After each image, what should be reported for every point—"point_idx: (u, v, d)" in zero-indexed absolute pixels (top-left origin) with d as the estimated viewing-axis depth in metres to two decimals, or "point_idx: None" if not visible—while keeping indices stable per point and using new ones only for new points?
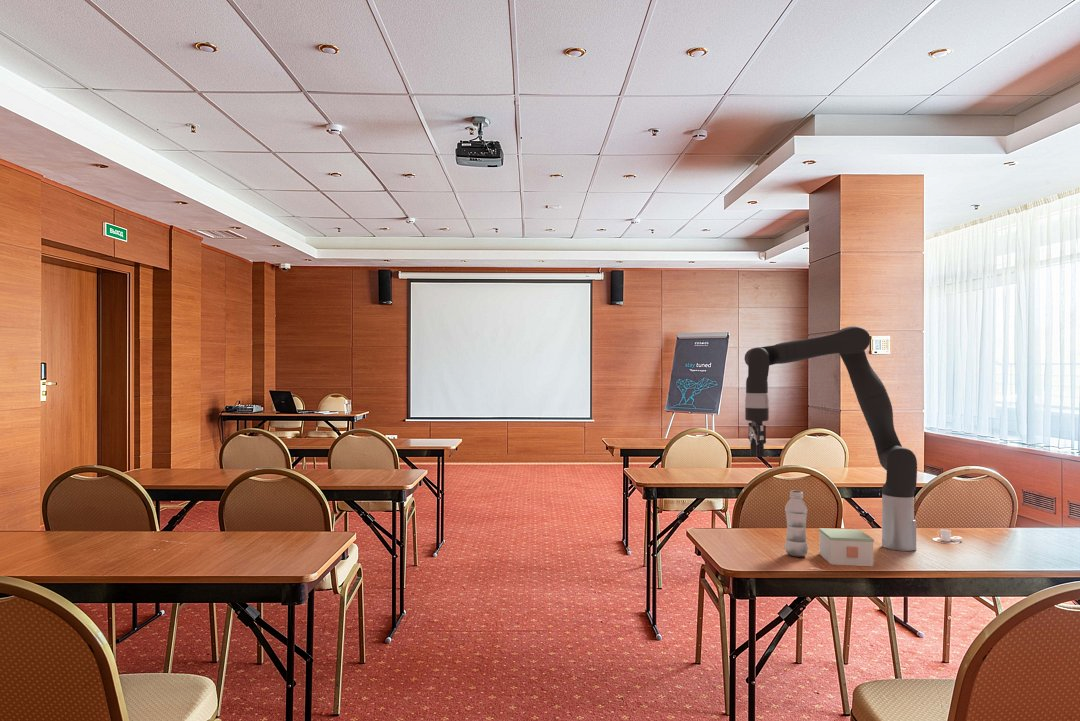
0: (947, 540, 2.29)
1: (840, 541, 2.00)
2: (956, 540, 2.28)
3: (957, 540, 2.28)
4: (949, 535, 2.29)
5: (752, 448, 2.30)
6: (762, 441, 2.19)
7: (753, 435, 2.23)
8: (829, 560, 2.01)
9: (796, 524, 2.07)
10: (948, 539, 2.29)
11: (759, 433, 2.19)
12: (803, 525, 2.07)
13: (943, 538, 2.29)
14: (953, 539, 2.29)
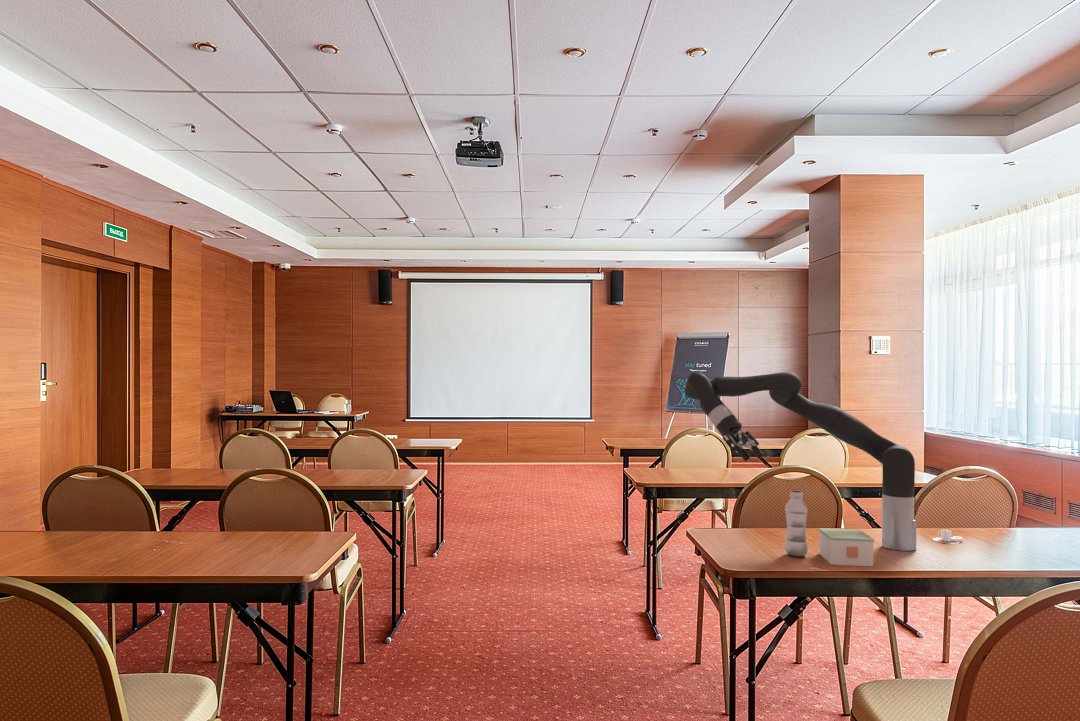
0: (947, 540, 2.29)
1: (840, 541, 2.00)
2: (956, 540, 2.28)
3: (957, 540, 2.28)
4: (949, 535, 2.28)
5: None
6: None
7: (749, 438, 2.24)
8: (829, 560, 2.01)
9: (796, 524, 2.07)
10: (948, 539, 2.28)
11: None
12: (803, 525, 2.07)
13: (943, 538, 2.29)
14: (953, 539, 2.29)
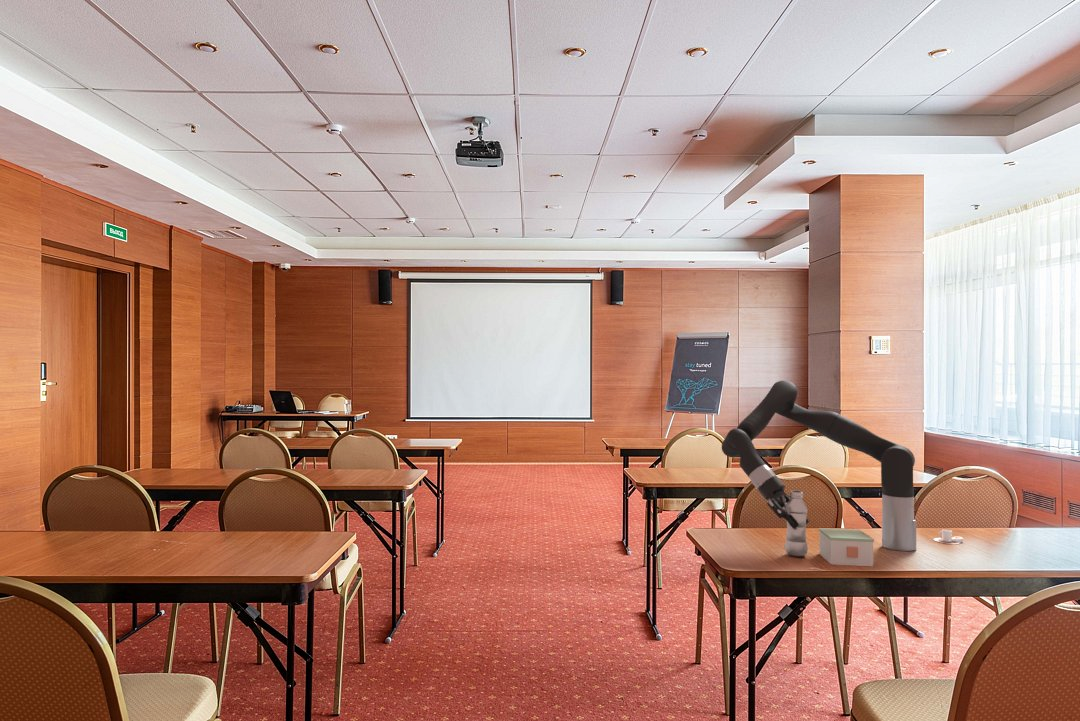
0: (948, 540, 2.28)
1: (840, 541, 2.00)
2: (957, 540, 2.28)
3: (958, 540, 2.28)
4: (950, 535, 2.28)
5: None
6: None
7: None
8: (829, 560, 2.01)
9: None
10: (949, 539, 2.28)
11: None
12: (803, 525, 2.07)
13: (944, 538, 2.29)
14: (954, 539, 2.28)
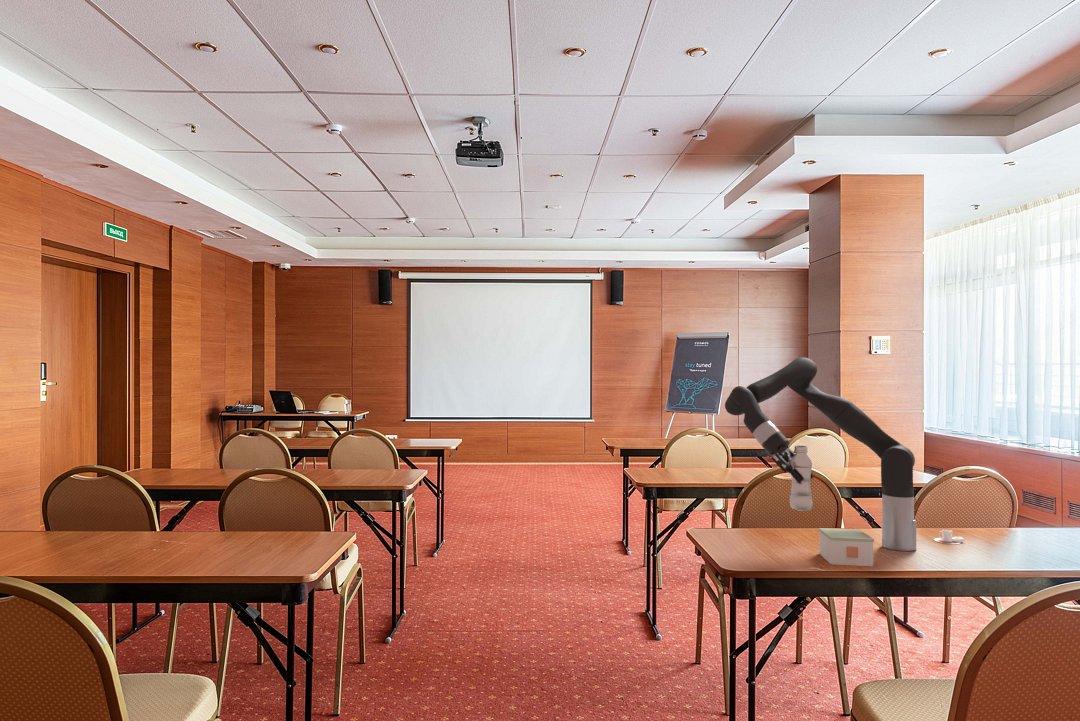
0: (948, 540, 2.28)
1: (840, 541, 2.00)
2: (957, 540, 2.27)
3: (958, 540, 2.27)
4: (950, 535, 2.28)
5: None
6: None
7: None
8: (829, 560, 2.01)
9: None
10: (949, 539, 2.28)
11: None
12: (808, 479, 2.06)
13: (944, 538, 2.29)
14: (954, 539, 2.28)
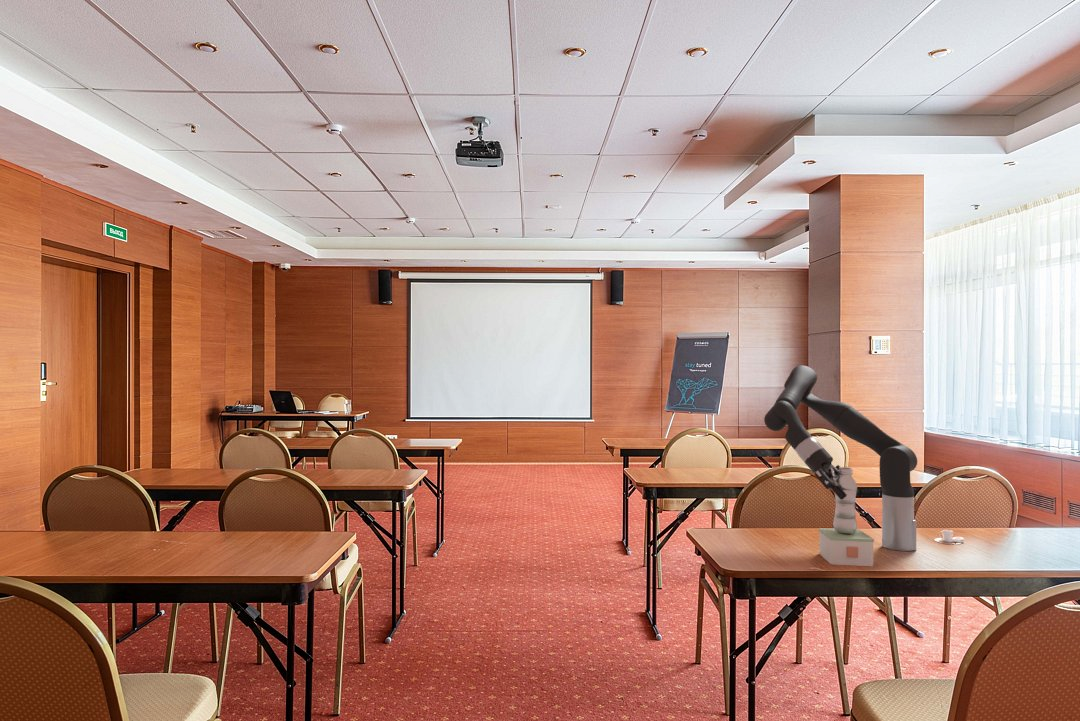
0: (949, 541, 2.28)
1: (840, 541, 2.00)
2: (958, 541, 2.27)
3: (959, 541, 2.27)
4: (951, 536, 2.28)
5: None
6: None
7: None
8: (829, 560, 2.01)
9: (845, 501, 2.03)
10: (950, 539, 2.28)
11: None
12: (853, 502, 2.03)
13: (945, 539, 2.28)
14: (955, 540, 2.28)
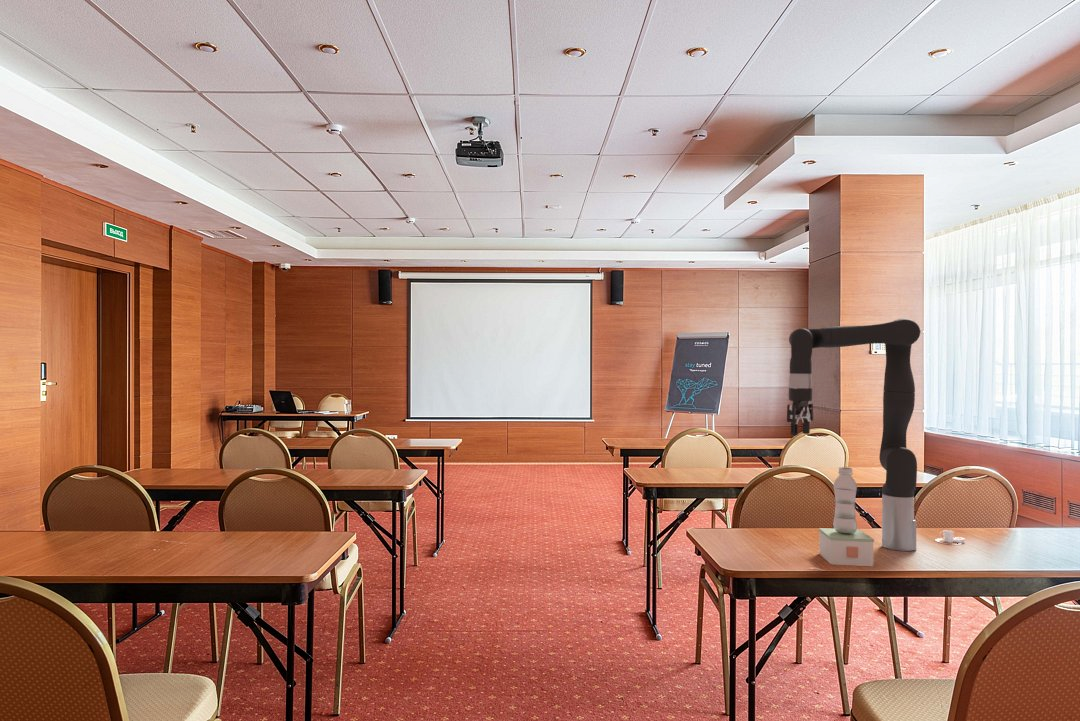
0: (950, 541, 2.27)
1: (840, 541, 2.00)
2: (959, 541, 2.27)
3: (960, 541, 2.27)
4: (952, 536, 2.27)
5: None
6: None
7: (808, 414, 2.29)
8: (829, 560, 2.01)
9: (845, 501, 2.03)
10: (951, 540, 2.27)
11: None
12: (853, 502, 2.03)
13: (946, 539, 2.28)
14: (956, 540, 2.28)
